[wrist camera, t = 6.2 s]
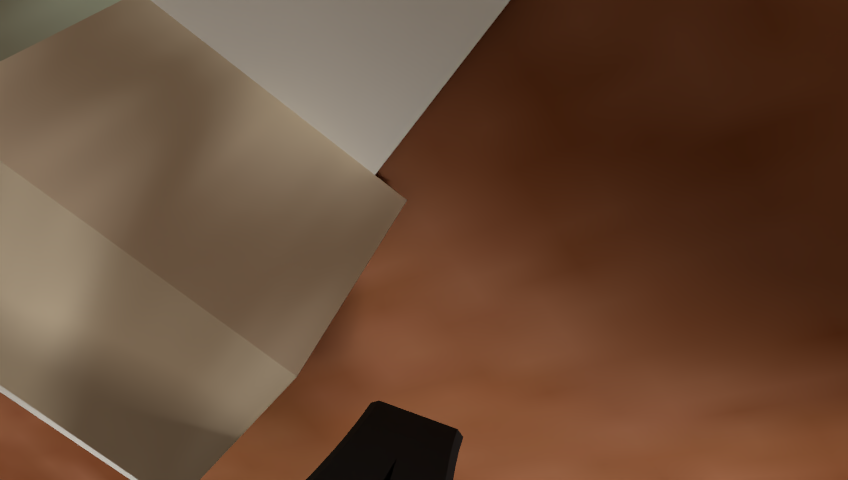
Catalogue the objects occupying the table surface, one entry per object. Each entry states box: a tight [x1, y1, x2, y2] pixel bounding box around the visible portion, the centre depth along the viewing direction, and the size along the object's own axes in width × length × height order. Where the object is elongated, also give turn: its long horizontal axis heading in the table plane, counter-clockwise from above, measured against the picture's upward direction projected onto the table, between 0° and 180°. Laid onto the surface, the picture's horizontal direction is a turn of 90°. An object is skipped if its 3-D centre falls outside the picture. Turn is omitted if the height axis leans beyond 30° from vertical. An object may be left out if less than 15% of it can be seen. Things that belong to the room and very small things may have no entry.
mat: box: [0, 0, 510, 480], centre depth 13 cm, size 9×20×1 cm, turn 146°
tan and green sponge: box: [0, 0, 407, 480], centre depth 11 cm, size 4×4×6 cm
